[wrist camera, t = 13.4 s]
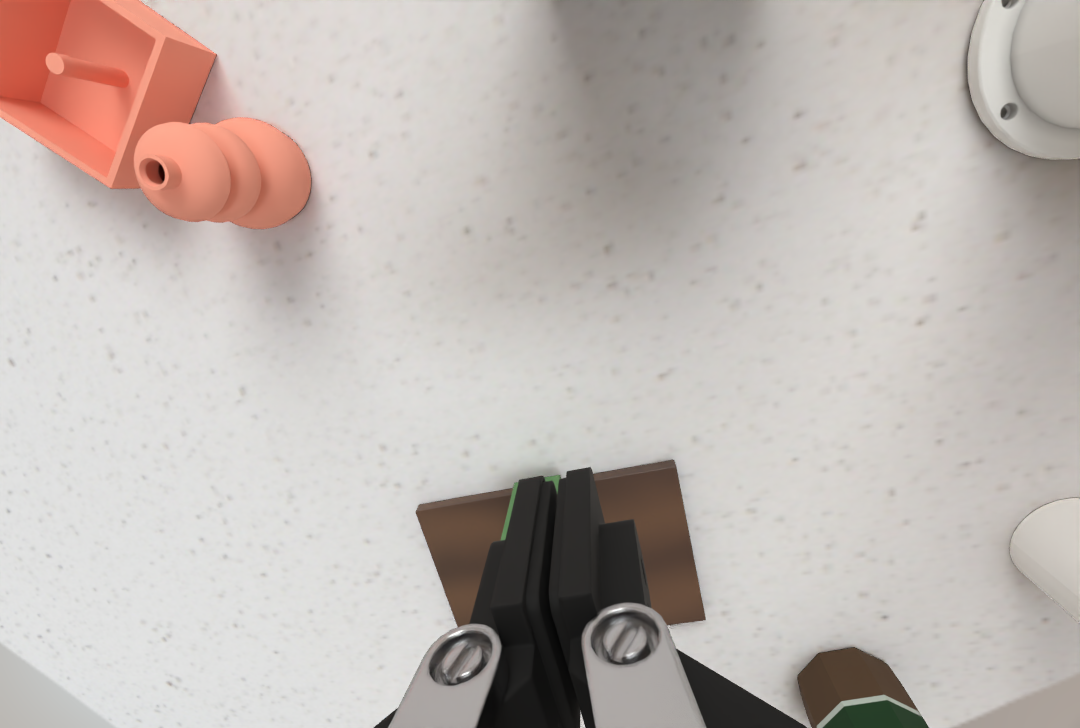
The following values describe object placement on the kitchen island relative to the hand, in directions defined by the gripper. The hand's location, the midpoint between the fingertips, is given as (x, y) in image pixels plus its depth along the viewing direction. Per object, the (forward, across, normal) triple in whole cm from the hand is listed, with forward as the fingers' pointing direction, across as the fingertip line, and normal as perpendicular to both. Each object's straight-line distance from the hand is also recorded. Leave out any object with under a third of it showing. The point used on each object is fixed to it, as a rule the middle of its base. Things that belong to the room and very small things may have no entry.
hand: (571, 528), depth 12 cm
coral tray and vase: (+25, +22, -17) cm, 38 cm away
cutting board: (+25, +6, +20) cm, 33 cm away
